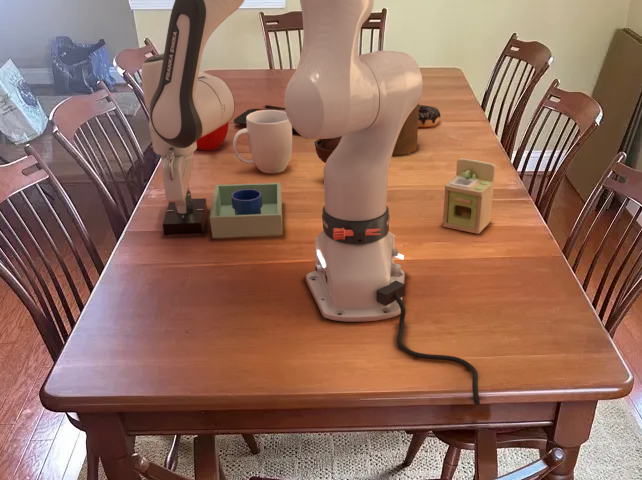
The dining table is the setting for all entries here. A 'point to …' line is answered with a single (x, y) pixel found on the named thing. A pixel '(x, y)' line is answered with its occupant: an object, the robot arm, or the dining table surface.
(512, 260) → the dining table surface
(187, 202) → the rotary knob
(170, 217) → the black dial base
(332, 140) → the ice cream bowl
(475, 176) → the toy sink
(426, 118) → the donut
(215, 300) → the dining table surface
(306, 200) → the dining table surface
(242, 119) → the sushi plate
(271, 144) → the mug
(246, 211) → the blue cup
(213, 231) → the basin
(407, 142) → the wooden container
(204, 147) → the ceramic cup
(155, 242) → the dining table surface
